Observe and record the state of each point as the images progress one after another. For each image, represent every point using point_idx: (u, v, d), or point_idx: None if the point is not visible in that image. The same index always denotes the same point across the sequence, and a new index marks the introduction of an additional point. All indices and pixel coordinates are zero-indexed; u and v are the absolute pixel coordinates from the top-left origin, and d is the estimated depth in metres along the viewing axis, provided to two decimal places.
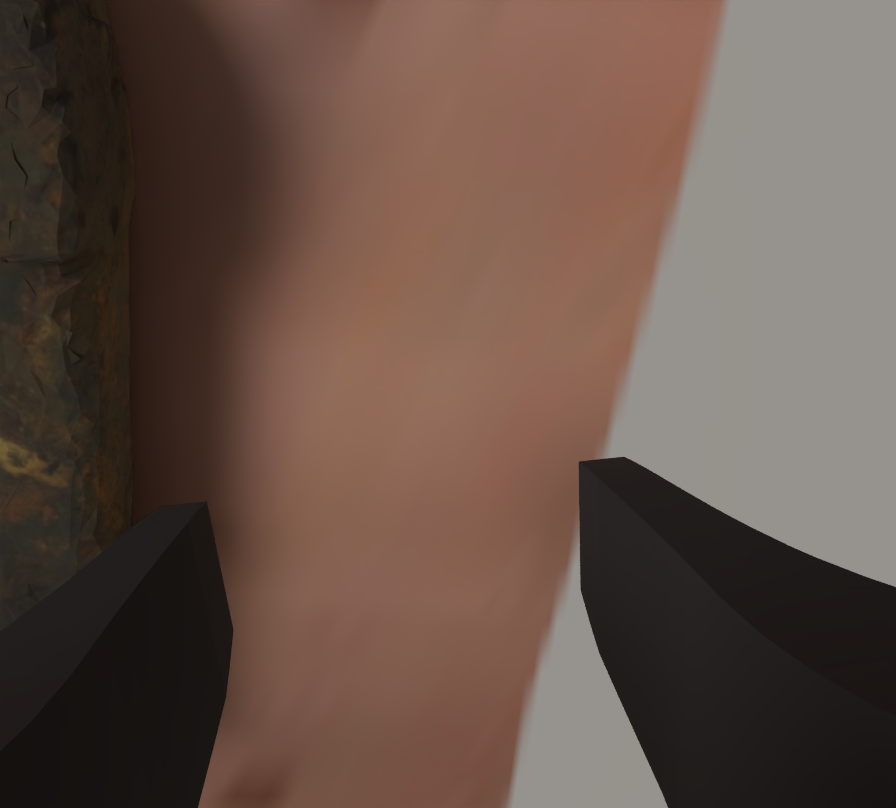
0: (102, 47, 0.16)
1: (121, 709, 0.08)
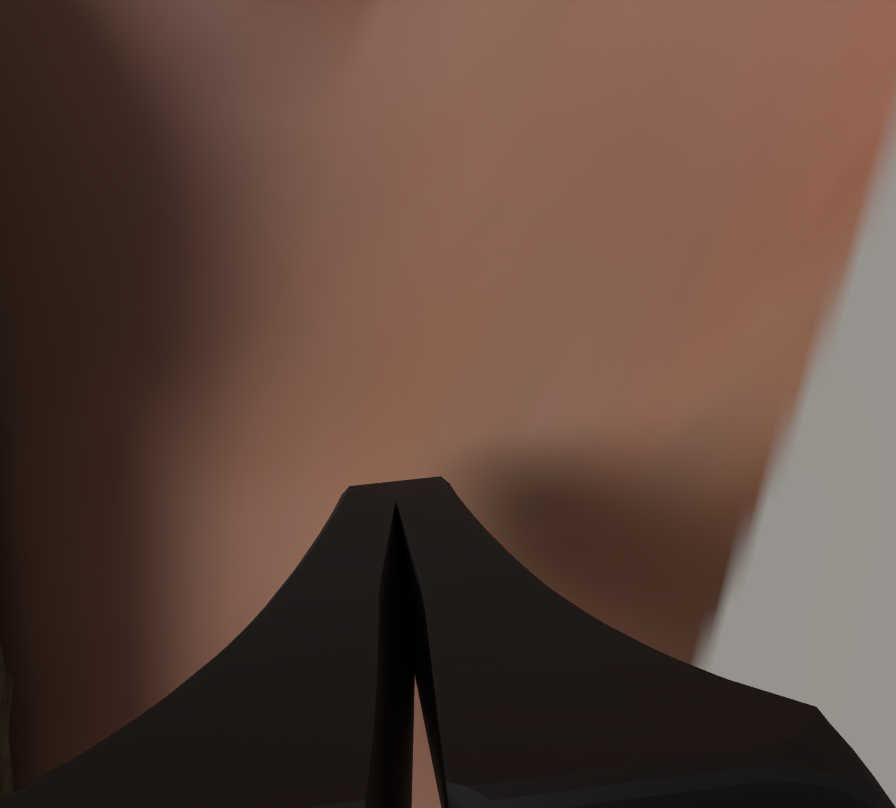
0: None
1: (388, 677, 0.08)
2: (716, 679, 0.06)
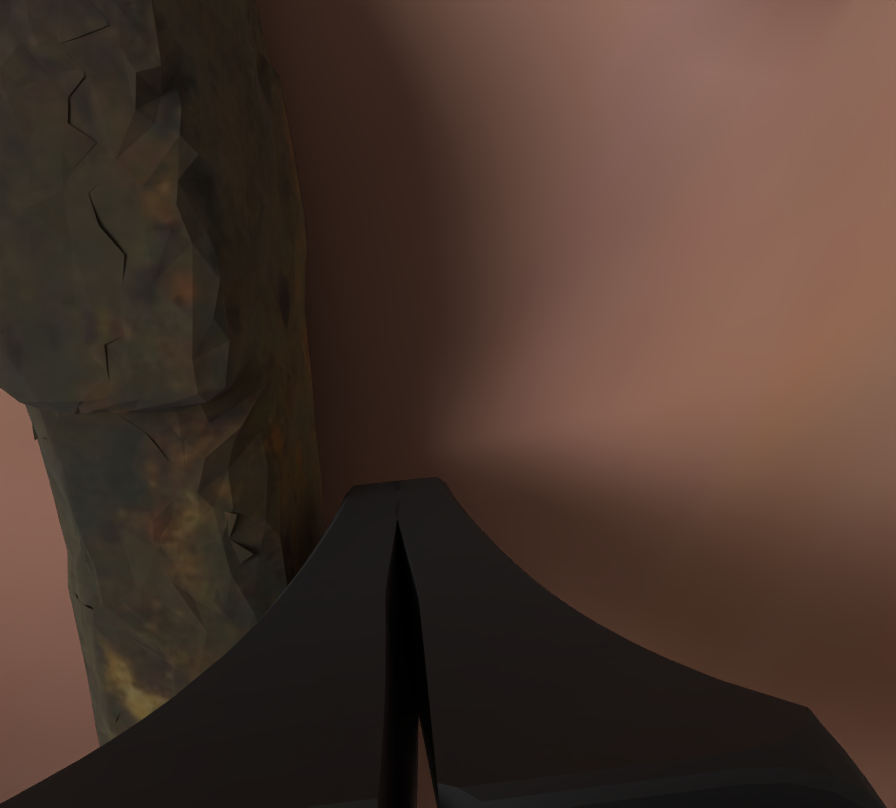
0: None
1: (394, 677, 0.08)
2: (709, 680, 0.06)
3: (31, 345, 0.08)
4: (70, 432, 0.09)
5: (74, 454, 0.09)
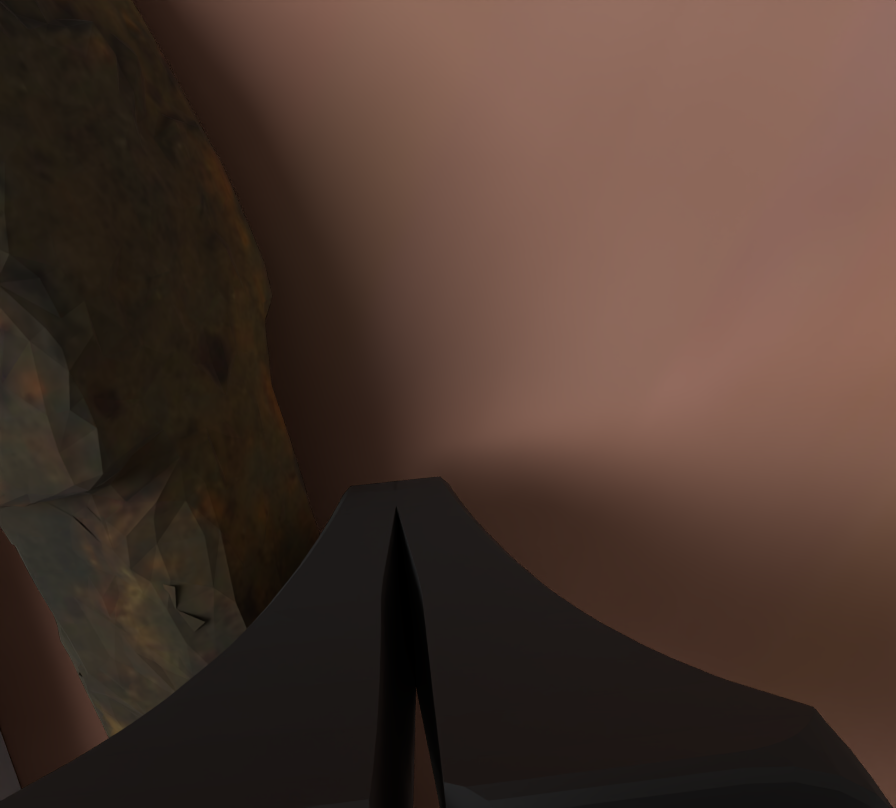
0: (95, 68, 0.08)
1: (390, 677, 0.08)
2: (714, 679, 0.06)
3: None
4: (13, 520, 0.09)
5: (24, 539, 0.09)
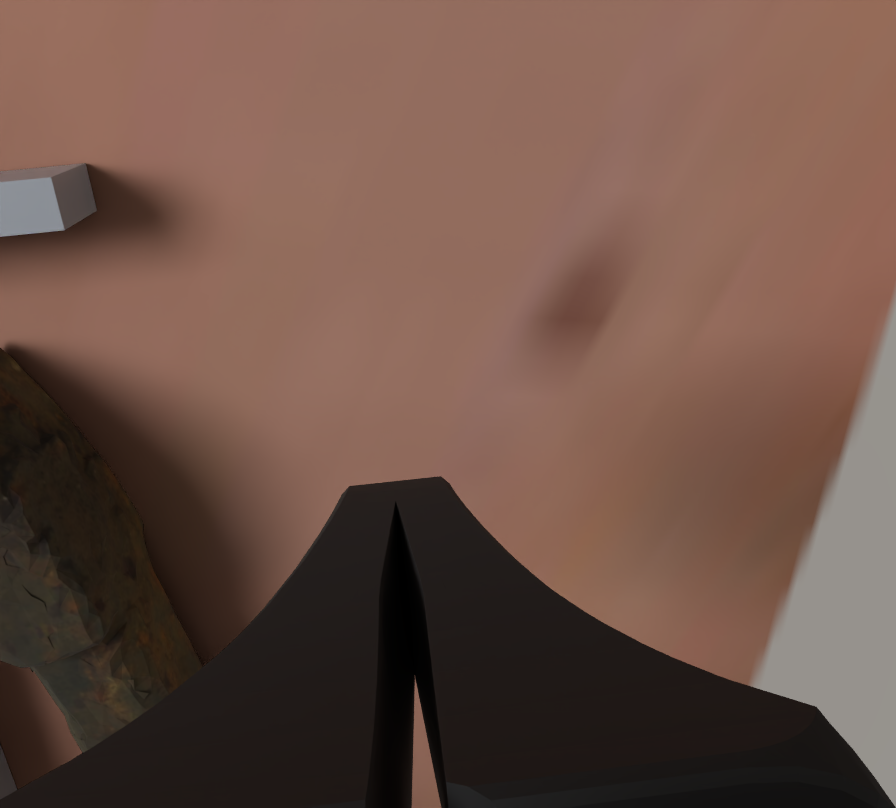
0: (61, 456, 0.19)
1: (388, 677, 0.08)
2: (716, 679, 0.06)
3: (17, 645, 0.18)
4: (46, 667, 0.19)
5: (51, 675, 0.19)
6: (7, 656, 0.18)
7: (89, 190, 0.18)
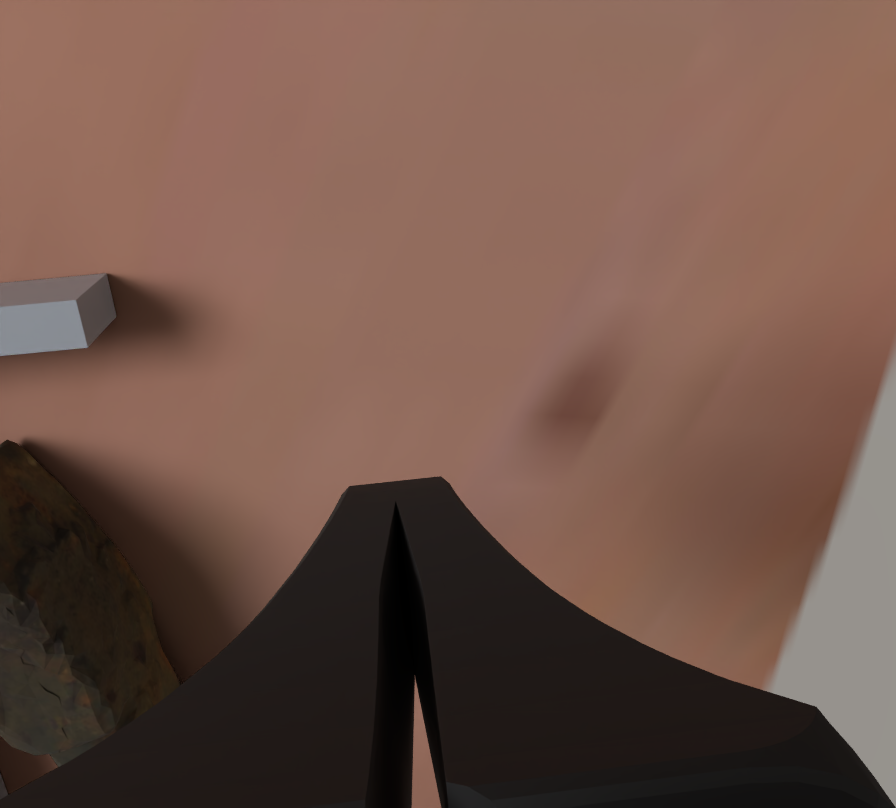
0: (75, 551, 0.20)
1: (388, 677, 0.08)
2: (716, 679, 0.06)
3: (33, 735, 0.19)
4: (60, 751, 0.20)
5: (65, 758, 0.20)
6: (23, 745, 0.19)
7: (110, 299, 0.19)
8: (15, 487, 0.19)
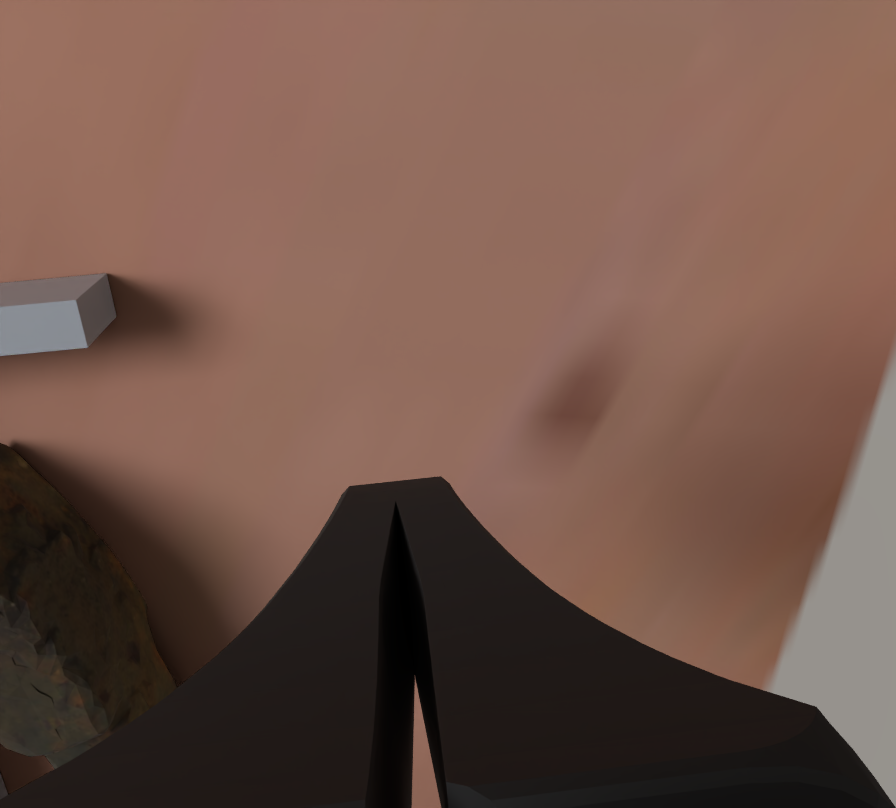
0: (67, 552, 0.20)
1: (388, 677, 0.08)
2: (716, 679, 0.06)
3: (27, 737, 0.19)
4: (55, 752, 0.20)
5: (60, 759, 0.20)
6: (17, 747, 0.19)
7: (110, 299, 0.19)
8: (5, 489, 0.19)
